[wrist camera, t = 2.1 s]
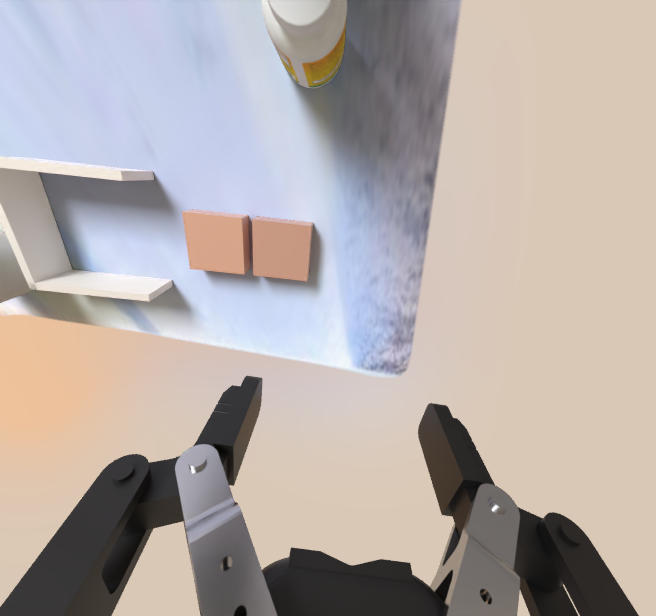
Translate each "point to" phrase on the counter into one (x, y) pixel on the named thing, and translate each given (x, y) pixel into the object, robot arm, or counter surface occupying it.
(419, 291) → the counter surface
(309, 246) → the tile
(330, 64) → the supplement bottle
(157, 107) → the counter surface
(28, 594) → the robot arm
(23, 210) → the white u-shaped bracket
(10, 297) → the can
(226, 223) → the tile
